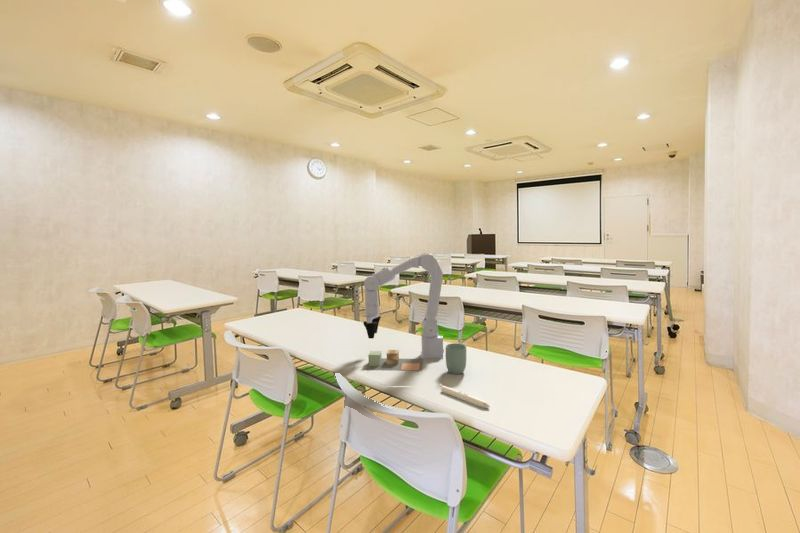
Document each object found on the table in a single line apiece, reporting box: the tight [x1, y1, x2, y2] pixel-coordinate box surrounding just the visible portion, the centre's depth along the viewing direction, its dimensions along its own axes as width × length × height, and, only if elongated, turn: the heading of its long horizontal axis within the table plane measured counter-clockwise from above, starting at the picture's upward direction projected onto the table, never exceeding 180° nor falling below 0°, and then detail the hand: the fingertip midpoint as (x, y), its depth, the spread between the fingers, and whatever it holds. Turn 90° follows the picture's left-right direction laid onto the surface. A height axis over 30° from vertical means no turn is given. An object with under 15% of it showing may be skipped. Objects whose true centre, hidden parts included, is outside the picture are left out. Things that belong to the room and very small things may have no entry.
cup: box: [445, 342, 467, 375], centre depth 135 cm, size 8×8×10 cm
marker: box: [440, 385, 491, 409], centre depth 113 cm, size 18×2×2 cm, turn 44°
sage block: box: [367, 350, 382, 366], centre depth 144 cm, size 4×4×4 cm
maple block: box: [386, 349, 400, 364], centre depth 146 cm, size 4×4×4 cm
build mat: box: [364, 357, 424, 372], centre depth 144 cm, size 22×13×1 cm, turn 85°
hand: (372, 335), depth 153 cm, fingers open, 7 cm apart
